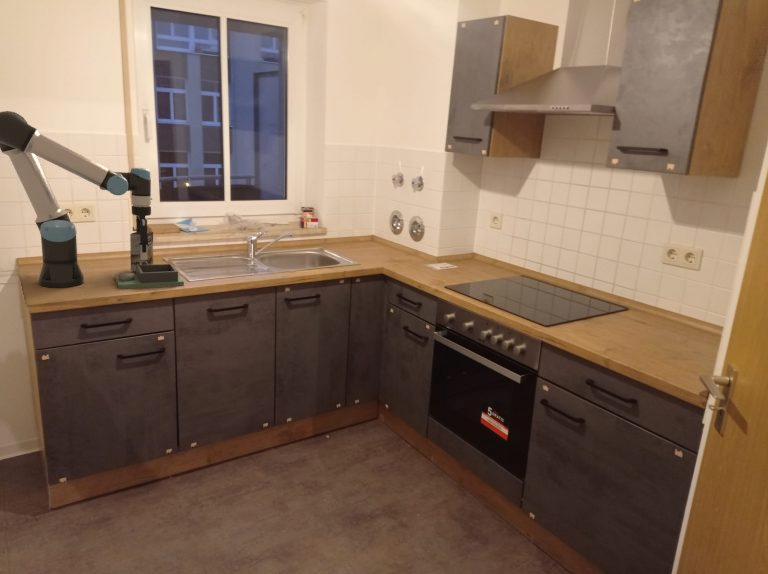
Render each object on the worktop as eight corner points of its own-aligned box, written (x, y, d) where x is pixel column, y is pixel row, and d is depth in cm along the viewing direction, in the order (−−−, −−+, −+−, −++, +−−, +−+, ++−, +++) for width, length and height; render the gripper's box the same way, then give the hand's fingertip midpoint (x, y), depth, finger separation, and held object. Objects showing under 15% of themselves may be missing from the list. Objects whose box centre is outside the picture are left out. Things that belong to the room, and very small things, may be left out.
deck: (119, 288, 220) (118, 274, 218) (115, 278, 233) (114, 265, 232) (183, 285, 232) (183, 272, 230) (176, 275, 245) (176, 263, 244)
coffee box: (145, 272, 243) (144, 234, 239) (130, 270, 243) (129, 233, 239) (154, 267, 251) (153, 231, 247) (139, 266, 251) (139, 230, 247)
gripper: (155, 209, 232) (155, 262, 238) (147, 201, 252) (147, 251, 257) (135, 209, 229) (136, 263, 234) (128, 201, 248) (129, 251, 253)
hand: (142, 256), depth 246 cm, fingers closed on coffee box, 10 cm apart
